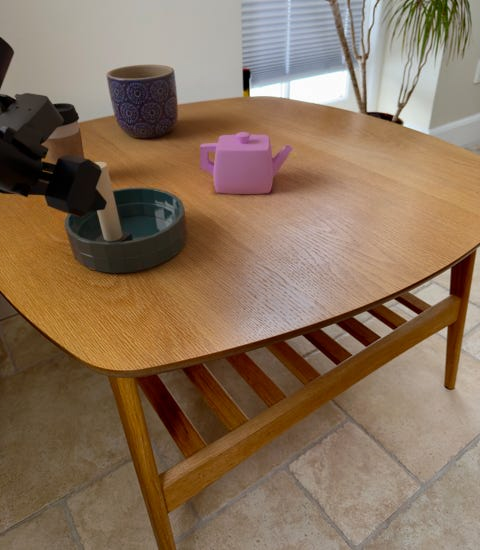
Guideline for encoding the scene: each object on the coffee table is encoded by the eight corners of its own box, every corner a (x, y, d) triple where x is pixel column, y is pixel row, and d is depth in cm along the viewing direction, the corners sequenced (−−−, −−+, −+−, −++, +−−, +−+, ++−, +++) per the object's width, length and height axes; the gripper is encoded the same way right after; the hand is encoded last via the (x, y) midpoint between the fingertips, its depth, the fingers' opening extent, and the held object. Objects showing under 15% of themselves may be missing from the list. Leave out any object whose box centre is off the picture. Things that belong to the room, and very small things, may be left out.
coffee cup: (43, 185, 90) (19, 110, 81) (70, 169, 96) (51, 98, 87) (75, 191, 87) (55, 114, 78) (101, 174, 93) (85, 102, 84)
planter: (104, 136, 113) (91, 74, 104) (146, 118, 124) (138, 62, 115) (152, 147, 106) (143, 82, 97) (193, 127, 117) (187, 67, 108)
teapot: (289, 173, 91) (292, 124, 85) (291, 195, 83) (294, 143, 77) (205, 173, 92) (201, 124, 86) (198, 195, 84) (193, 143, 78)
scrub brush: (117, 259, 66) (97, 173, 58) (97, 253, 68) (75, 168, 59) (134, 246, 69) (117, 162, 60) (115, 240, 70) (96, 158, 62)
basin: (139, 289, 61) (132, 257, 58) (49, 256, 68) (38, 226, 65) (208, 229, 74) (205, 200, 70) (125, 207, 81) (120, 179, 78)
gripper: (65, 82, 41) (154, 154, 55) (-54, 67, 49) (52, 133, 63) (23, 191, 40) (124, 236, 55) (-90, 158, 48) (24, 205, 62)
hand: (79, 198), depth 59 cm, fingers open, 9 cm apart
